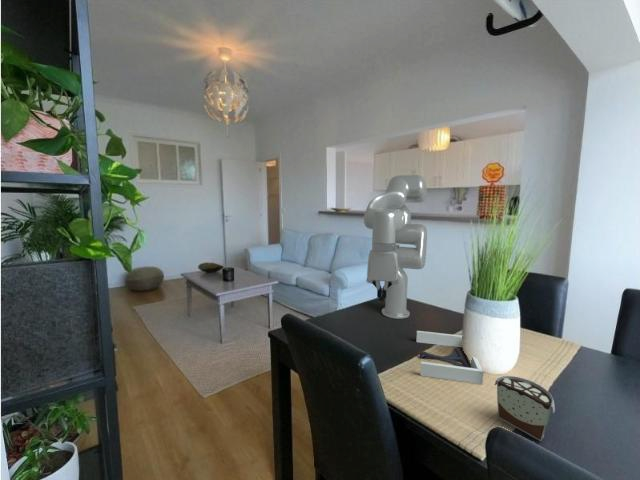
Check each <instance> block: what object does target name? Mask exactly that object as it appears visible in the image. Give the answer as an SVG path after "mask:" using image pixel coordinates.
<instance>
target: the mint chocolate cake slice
mask: <svg viewBox="0 0 640 480" xmlns="http://www.w3.org/2000/svg"><path fill="white" fill-rule="evenodd" d="M494 386H496V390H497V391H496V392H497V393H496V394H497V395H496V398H497V404H496V405H497V418H498V419H500V420H502V421H504V422H505V423H507V424H510V425H511V426H512V427H515V428H516V429H518V430H520V431H521V432H523V433H525V434H526V435H528V436H530V437H531V438H534V439H536V440H537V441H539V442H541V443H542V442H543V441H544V437H545V433H546V430H547V425H548V422H549V418H550V415H551V411H552V414H554V413H555V411H556V408H555V407H556V406H555V400H554V397H553V396H552V394H551V393H550V392H549V391H548V390H547V389H546V388H545V387H543V386H542V385H540V384H538V383H536V382H534V381H531V380H530V379H526V378H523V377H520V376H511V375H502V376H499V377H497V378H496V380H495V383H494Z"/></svg>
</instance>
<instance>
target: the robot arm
mask: <svg viewBox="0 0 640 480" xmlns="http://www.w3.org/2000/svg"><path fill="white" fill-rule="evenodd" d="M427 195H428V189H427V183H426V181H425V178H424V177H423V176H421V175H417V174H408V175H407V174H406V175H405V174H404V175H403V174H402V175H395V176H393V177H392V178H390V180H389V182H388V184H387V187H386V190H385V192H384V193H382V194H380V195H378V196H376V197H374V198H373V199H371V200H370V201H369V203H368V205H367V206H366V209H365V212H364V215H363V223H364V226H365V227H366V228H367V229H368V230H372V234H371V235H372V237H371V238H372V239H371V240H372V241H371V250H370V249H369V253H368V261H367V270H366V271H367V272H366V283H368V284H370V285H371V284H372V285H373V286H374V287H375V288H376V291H377V292H376V293H377V294H376V298H378V301H379V302H384V301H385V302H384V303H385V306H384V307H383V308H382V309H381V314H382V315H383V316H385V317H387V318H389V319H390V318H391V319H397V320H399V319H400V320H401V319H406V318H409V317H410V311H409V310H408V309H407V301H408V283H409V281H408V280H409V279H408V275H407V273H406V272H405V270H404V269H411V270H422V269H423V268H425V265H426V258H427V257H426V256H427V246H428V245H427V242H428V241H427V240H428V230H427V227H426V225H424V224H420V223H411V219H412V213H411V210H410V209H409V207H408V206H407V205H406V204H405V203H417V204H419V203H423V202H425V201H426V198H427ZM400 245H410V246H411V245H412V246H415V247H410V246H409V247H408V246H400ZM381 282H384V284H383V286H381Z"/></svg>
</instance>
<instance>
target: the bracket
mask: <svg viewBox="0 0 640 480" xmlns="http://www.w3.org/2000/svg"><path fill="white" fill-rule="evenodd" d="M419 359H420V360H421V359H422V360H433V361H441V362H446V363H449V364H450V365H453V366H460V367H467V368H471V366H470V364H469V361H468V360H467V358H466V356H464V354H463V352H462V351H461V349H460V347H455V348H454V350H453V351H452V353H450V354H448V355H444V356H441V355H436V354H433V353H429V352H427V351H420V352H419Z"/></svg>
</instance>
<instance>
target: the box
mask: <svg viewBox="0 0 640 480" xmlns="http://www.w3.org/2000/svg"><path fill="white" fill-rule="evenodd" d="M462 336H463V335H459V334H450V333H442V332H432V331H423V330H416V343H420V344H421V343H422V344H429V345H430V344H431V345H438V346H445V347H455V348H462V349H463V345H462ZM467 362H468V364H469V366H470V367H471V368H467V367H460V366H456V365H453V364H443V363H435V362H430V361H429V362H428V361H422V360H421V361H420V373H419V374H420V375H419V376H421V377H422V376H423V377H427V378H436V379H441V380H449V381H455V382H463V383H469V384H470V383H471V384H475V385H476V384H477V385H483V381H484V370H483V368H482V366H481V364H480V361H479V360H478V357H477V358H475V357H473V356H472V360H471V363H470V360H468V359H467Z"/></svg>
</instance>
